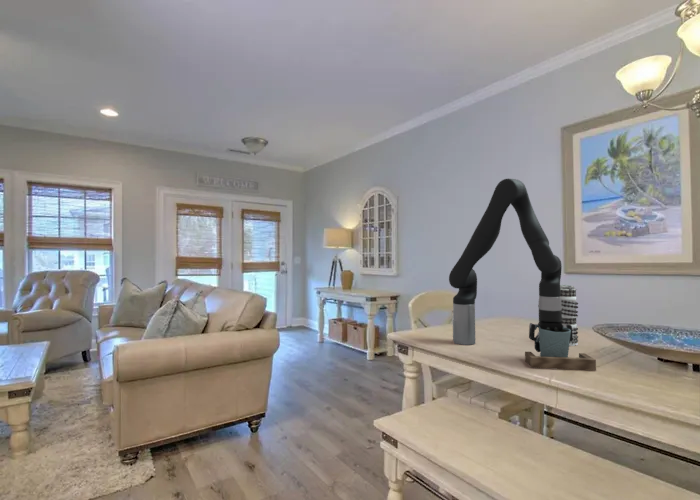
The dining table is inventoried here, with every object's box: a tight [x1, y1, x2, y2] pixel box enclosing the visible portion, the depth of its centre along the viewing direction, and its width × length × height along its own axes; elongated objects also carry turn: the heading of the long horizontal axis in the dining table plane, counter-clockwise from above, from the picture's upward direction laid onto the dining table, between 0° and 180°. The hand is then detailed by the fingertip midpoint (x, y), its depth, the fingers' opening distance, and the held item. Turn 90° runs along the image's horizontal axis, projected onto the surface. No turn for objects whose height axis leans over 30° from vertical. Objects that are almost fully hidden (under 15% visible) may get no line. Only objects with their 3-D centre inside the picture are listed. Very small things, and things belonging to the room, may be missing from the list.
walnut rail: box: [524, 351, 597, 371], centre depth 129 cm, size 20×8×4 cm, turn 80°
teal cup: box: [538, 326, 571, 357], centre depth 133 cm, size 10×10×12 cm
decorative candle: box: [560, 284, 579, 347], centre depth 160 cm, size 9×9×25 cm
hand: (550, 352), depth 137 cm, fingers open, 8 cm apart
